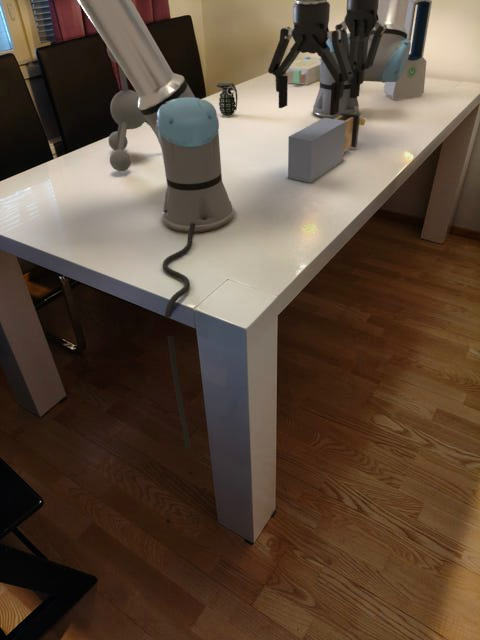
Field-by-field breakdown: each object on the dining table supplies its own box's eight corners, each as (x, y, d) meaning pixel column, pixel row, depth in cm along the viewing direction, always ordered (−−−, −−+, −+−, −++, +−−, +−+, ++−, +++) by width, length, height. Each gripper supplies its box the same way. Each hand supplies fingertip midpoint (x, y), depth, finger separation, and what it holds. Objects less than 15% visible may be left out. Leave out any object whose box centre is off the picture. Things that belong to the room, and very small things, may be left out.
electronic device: (392, 100, 174) (405, 0, 156) (382, 95, 180) (394, -2, 162) (423, 96, 177) (440, -3, 158) (412, 91, 182) (427, -5, 164)
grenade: (217, 117, 168) (214, 86, 162) (221, 112, 172) (219, 82, 166) (235, 117, 166) (233, 86, 160) (239, 113, 171) (238, 82, 165)
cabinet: (321, 156, 134) (323, 117, 127) (343, 160, 130) (346, 120, 124) (287, 178, 123) (288, 136, 116) (310, 183, 119) (312, 140, 113)
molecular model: (194, 162, 134) (180, 38, 116) (114, 177, 128) (87, 49, 110) (171, 138, 152) (156, 27, 133) (100, 151, 146) (75, 36, 127)
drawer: (348, 138, 142) (351, 107, 137) (365, 140, 140) (368, 109, 134) (311, 161, 128) (312, 128, 123) (328, 165, 126) (331, 131, 121)
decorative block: (298, 54, 217) (338, 57, 207) (297, 70, 220) (337, 74, 211) (266, 66, 200) (309, 70, 191) (266, 83, 204) (308, 87, 195)
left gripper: (376, 0, 96) (364, 112, 109) (270, -1, 109) (271, 100, 122) (359, 4, 92) (349, 121, 105) (251, 3, 104) (254, 107, 117)
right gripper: (396, -11, 115) (383, 96, 130) (345, -11, 121) (338, 91, 136) (383, -8, 110) (371, 103, 125) (331, -8, 117) (325, 97, 131)
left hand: (307, 110), depth 113 cm, fingers open, 13 cm apart
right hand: (354, 96), depth 130 cm, fingers closed
